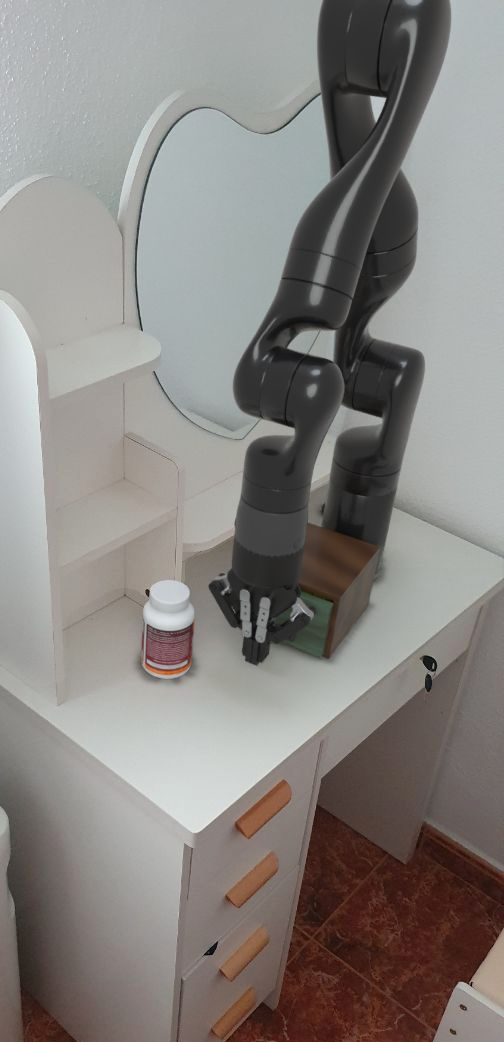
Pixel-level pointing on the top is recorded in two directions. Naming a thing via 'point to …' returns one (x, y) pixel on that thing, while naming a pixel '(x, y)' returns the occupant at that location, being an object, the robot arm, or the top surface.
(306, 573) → the cabinet
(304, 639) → the drawer
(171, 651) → the pill bottle
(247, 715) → the top surface
